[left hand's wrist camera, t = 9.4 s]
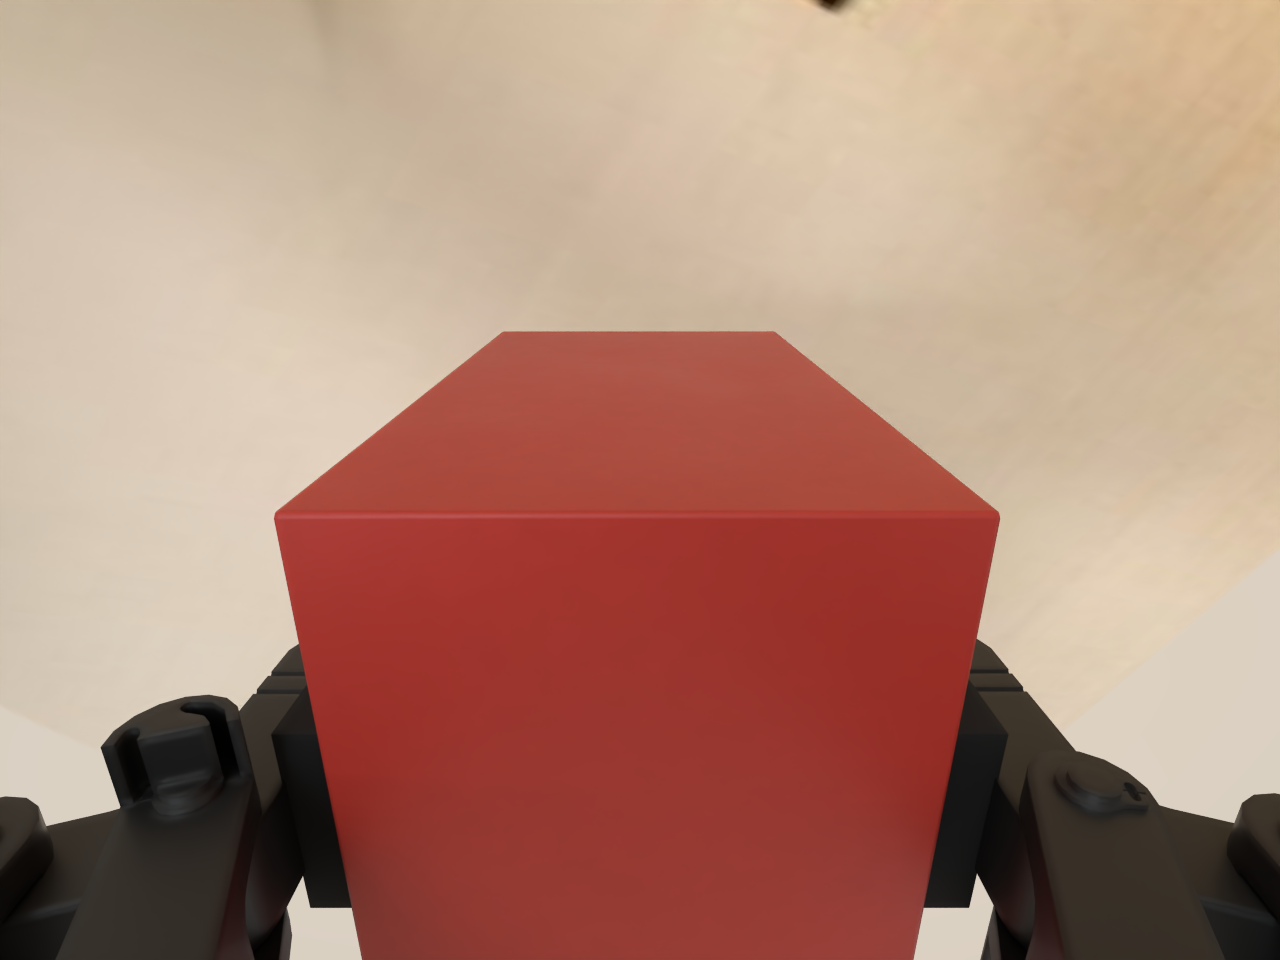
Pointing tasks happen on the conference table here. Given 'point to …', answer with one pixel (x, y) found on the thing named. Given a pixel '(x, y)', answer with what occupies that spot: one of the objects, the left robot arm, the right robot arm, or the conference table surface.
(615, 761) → the brick
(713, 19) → the conference table surface
